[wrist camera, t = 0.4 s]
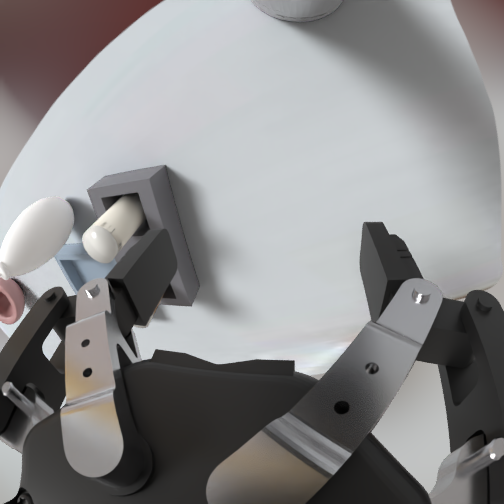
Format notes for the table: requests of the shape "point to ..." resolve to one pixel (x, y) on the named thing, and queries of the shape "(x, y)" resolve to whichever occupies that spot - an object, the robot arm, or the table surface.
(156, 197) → the block
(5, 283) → the mortar and pestle
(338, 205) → the table surface
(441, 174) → the table surface
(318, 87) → the table surface
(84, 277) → the parts tray
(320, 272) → the table surface
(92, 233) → the cylinder
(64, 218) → the sauce bottle
